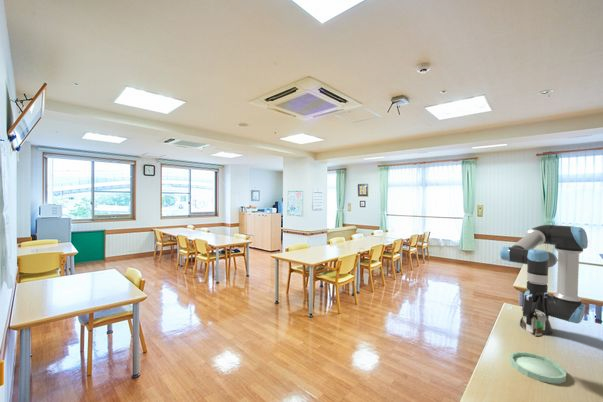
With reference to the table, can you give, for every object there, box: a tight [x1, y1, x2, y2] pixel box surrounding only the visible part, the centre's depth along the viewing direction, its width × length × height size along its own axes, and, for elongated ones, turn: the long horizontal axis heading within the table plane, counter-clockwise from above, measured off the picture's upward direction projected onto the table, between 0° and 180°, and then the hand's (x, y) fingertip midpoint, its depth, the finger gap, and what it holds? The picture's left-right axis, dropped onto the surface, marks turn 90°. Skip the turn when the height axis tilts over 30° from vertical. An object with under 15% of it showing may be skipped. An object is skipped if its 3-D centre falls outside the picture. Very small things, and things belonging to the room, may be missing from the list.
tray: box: [509, 351, 567, 385], centre depth 130 cm, size 20×20×2 cm
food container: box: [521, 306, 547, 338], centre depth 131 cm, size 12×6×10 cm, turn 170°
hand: (535, 330), depth 131 cm, fingers closed on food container, 8 cm apart
